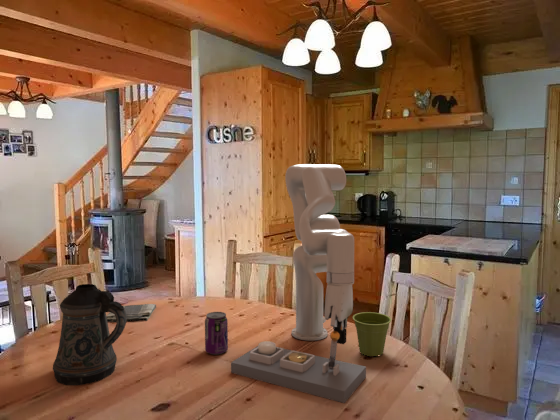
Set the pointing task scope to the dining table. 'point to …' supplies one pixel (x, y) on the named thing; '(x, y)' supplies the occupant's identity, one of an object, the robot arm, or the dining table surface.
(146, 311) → the dish towel
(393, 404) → the dining table surface
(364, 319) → the plant pot
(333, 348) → the lever
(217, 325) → the beverage can
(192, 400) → the dining table surface
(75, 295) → the beer stein
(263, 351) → the ivory button
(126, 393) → the dining table surface
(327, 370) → the switch panel
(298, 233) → the robot arm
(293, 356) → the brass button
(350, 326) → the dining table surface
